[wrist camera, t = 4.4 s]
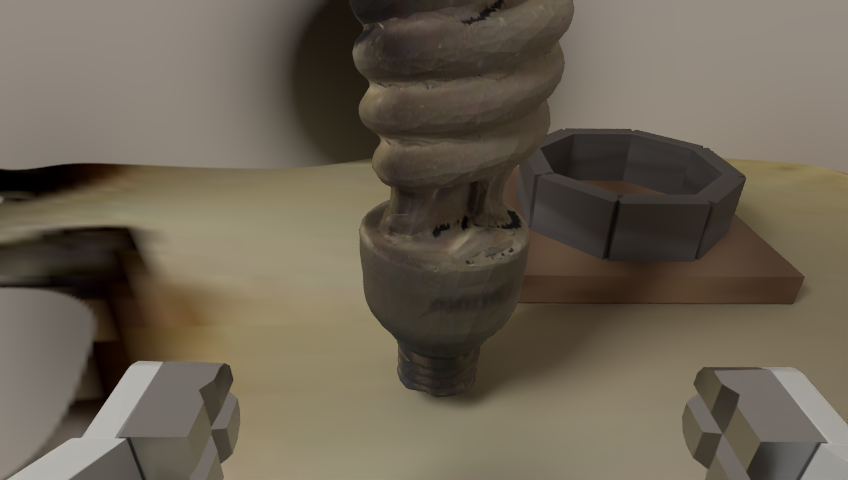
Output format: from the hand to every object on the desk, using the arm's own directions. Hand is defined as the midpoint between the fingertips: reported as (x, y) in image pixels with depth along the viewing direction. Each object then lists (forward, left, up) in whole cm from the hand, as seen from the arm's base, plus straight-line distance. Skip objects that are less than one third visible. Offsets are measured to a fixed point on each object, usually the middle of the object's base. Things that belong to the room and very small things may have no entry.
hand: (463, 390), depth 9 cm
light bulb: (0, +8, -8) cm, 11 cm away
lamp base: (+10, +20, -8) cm, 24 cm away
